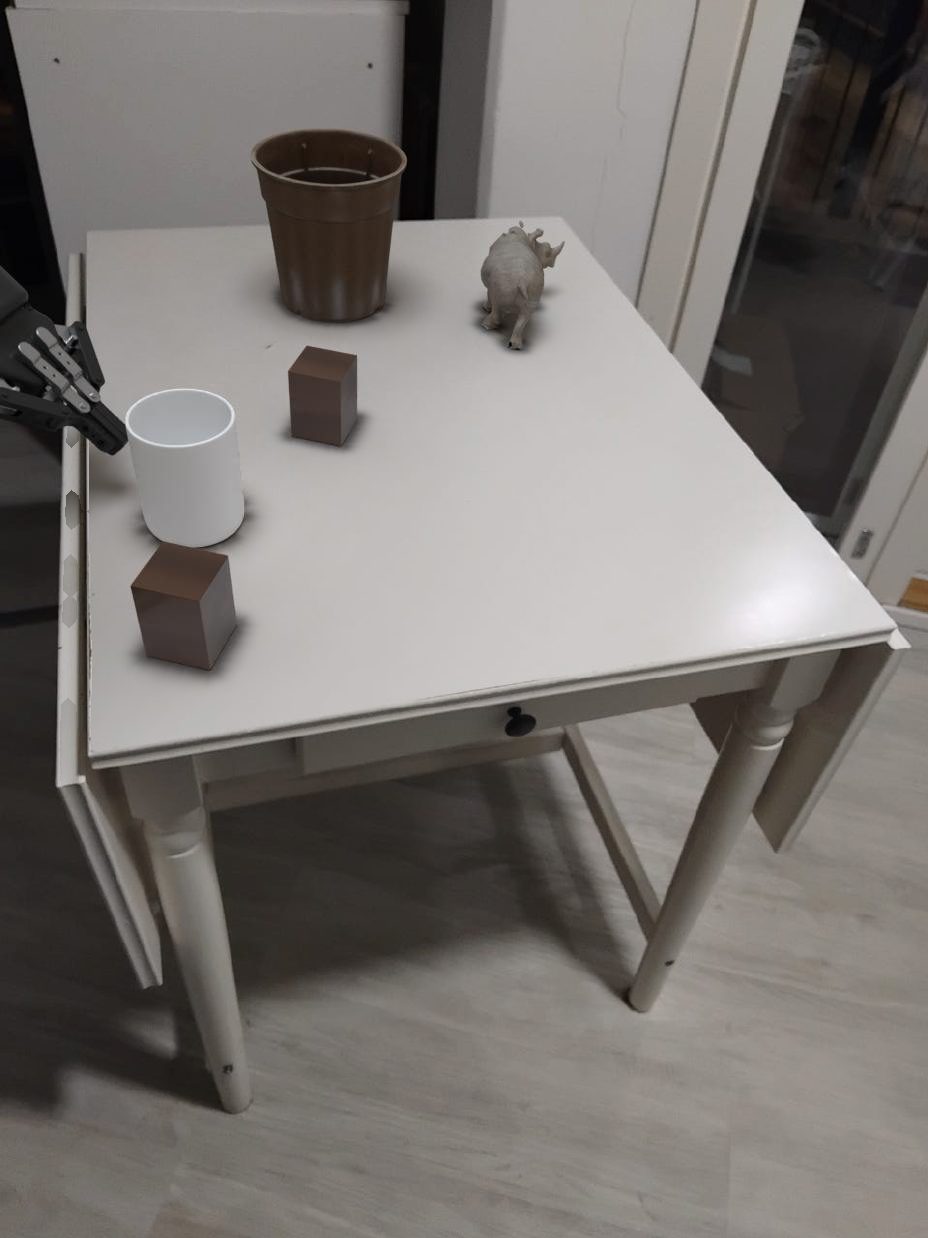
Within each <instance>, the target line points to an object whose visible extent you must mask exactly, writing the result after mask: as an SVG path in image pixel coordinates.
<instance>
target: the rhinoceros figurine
mask: <svg viewBox="0 0 928 1238" xmlns="http://www.w3.org/2000/svg"><path fill="white" fill-rule="evenodd" d="M518 224H519V226H518V225H517V226H516V225H515V226H511V227H510V228H508V232H507V233H506V232H502V233H501V235H500V236H499V237H498V238H497V239H496V240H495V241H493V243H492V244H491V245H490V246H489V251H488V255H487V256H486V257H485V259H484V260H483V263H482V265H481V268H480V279H481V283H482V285H483V286H484V287H485V288H486V289H487V291H486V295H487V299H486V302H484V303H483V305H482V307H483V309H485V311H486V312H488V313H489V314H488V315H487V316H486V317H484V318H483V321H482V323H480V324H481V326H482V327H483V328H485V329H486V330H492V329H493V330H495V329H498V328H500V325H499V324H501V323H502V322H503V319H504V317H505V316H506V315H507V314H513V315H514V314H515V315H517V319H516V321H515V324H514V326H513V330H512V335H511V337H510V339H509V341H508V342H507V347H508V348H509V349H511V350H516V349H519V350H521V351H522V350H523V349H524V348H525V346H524V344H523V331H524V329H525V327H526V325H527V323H528V322H529V321H530V320H531V318H532V316H533V315H534V313H535V312H536V310H537V308H538V305H539V304H540V303H539V302H540V301H541V296H542V294H543V291H544V289H545V270H544V269H547V268H550V269H551V268H552V269H553V268H555V264H556V260H557V257H558V256H559V255H560V253H561V252H562V250H563V248H564V246H565V243H566V241H565V240H563V241H561V243H560V244H559V245H557V246H555V247H551V243H549V242H548V241H544V242H539V241H538V240H537V239H538V238H541V237H543V235H544V233H545V232H544V230H543V228H540V227H536V229H535V231H533V232H531V233H530V232H528V233H526V231H525V230H523V228H524V222H523V221H522V220H519V222H518ZM510 344H511V346H510Z"/></svg>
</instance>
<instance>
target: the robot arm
mask: <svg viewBox="0 0 928 1238" xmlns="http://www.w3.org/2000/svg"><path fill="white" fill-rule="evenodd" d="M62 373H63V374H62ZM105 384H106V379H105V375H104V373H103V371H102V368H101V365H100V362H99V359H98V357H97V354H96V351H95V348H94V345H93V342H92V340H91V337H90V333H89V331H88V328H87V326H86V325H85V324H84V322H82V321H79V320H75V321H73V323H71V325H63V324H55V323H54V322H53V321H52V319H51V318H50V317H48V316H47V315H45V314H43V312H42V313H41V312H39V310H36V309H35V308H33V307H32V306H31V304H30V303H29V294H28V291H27V290H26V289H25V288H24V287H23V286H22V285H21V284H20V283H19V282H18V281H17V280H16V279H15V278H14V277H13V276H12V275H11V274H10V273H8V272H7V271H6V269H5V268H3V266H1V265H0V420H4V421H7V422H11V423H16V424H19V425H23V426H25V427H30V428H34V429H38V430H42V431H46V432H51V433H56V432H57V431H58V430H59V429H62V428H65V427H72V428H74V429H76V430H77V431H78V432H79V433H80V434H81V435H83V437H85V438H86V439H87V440H88V441H89V442H90V443H91V444H92V445H94V447H96V448H97V449H98V450H99V451H100V452H102V453H104V454H108V455H110V456H115V455H117V454H118V453H119V452H120V451H121V450H122V449H123V448H124V447H125V446H126V445H127V444H128V443H129V441H128V436H127V431H126V426H125V422H124V421H122V419H120V418H119V417H118V416H117V415H116V414H115V413H114V412H113V411H112V410H110V409H109V407H108V406H106V405H105V404H104V403H103V402H102V400H101V399H102V398H101V394H100V392H101V388H102V387H103V386H104V385H105ZM45 390H46V391H45ZM62 401H63V402H62Z"/></svg>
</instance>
